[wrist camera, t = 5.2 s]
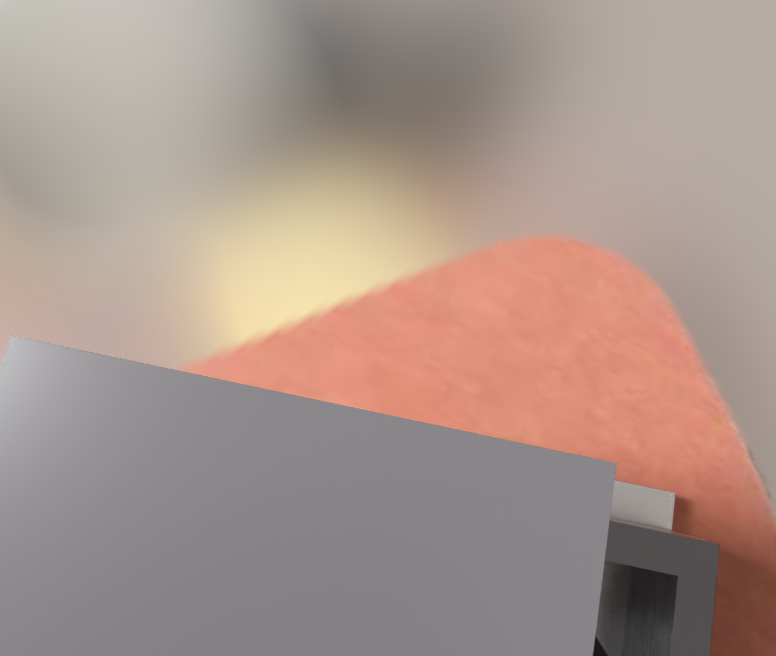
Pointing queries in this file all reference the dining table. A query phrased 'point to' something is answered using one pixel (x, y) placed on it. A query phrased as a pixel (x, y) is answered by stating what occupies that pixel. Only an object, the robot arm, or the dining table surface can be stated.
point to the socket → (654, 580)
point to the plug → (277, 523)
